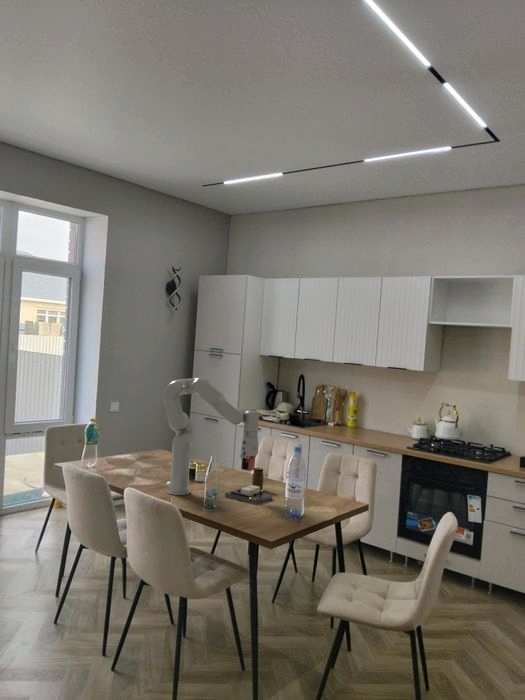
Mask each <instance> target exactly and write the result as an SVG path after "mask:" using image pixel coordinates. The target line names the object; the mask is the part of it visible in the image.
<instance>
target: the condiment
mask: <svg viewBox="0 0 525 700" xmlns="http://www.w3.org/2000/svg"><path fill="white" fill-rule="evenodd" d="M251 485H254V486H258V487H260V490H262V489H263V486H264V468H262V467H255V468H254V470H253V473H252V480H251Z"/></svg>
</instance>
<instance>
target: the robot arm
mask: <svg viewBox="0 0 525 700" xmlns="http://www.w3.org/2000/svg"><path fill="white" fill-rule="evenodd" d="M192 394H193V395H194V394H196V395H197V396H198V397H200V398H201V399H202V400H203V401H205V402H206V403H207V404H208V405H210V406H211V407H212V408H213V409H214V410H215V411H216V412H217V413H218V414H219V415H220V416H221V417H223V419H225V420H226V421H227V422H228V423H230V424H232V425H235V426H237V425H240V424H242V423H243V434H242V441H241V446H240V447H241V449H240V455H239V457H240V459H241V466H242V469H245V470H244V471H247V469H248V462H247V461H248V457H251V458H255V459H256V457H257V456H258V455H259V437H258V436H259V435H258V434H259V433H258V432H259V423H260V422H259V420H260V413H259V411H257V410H246V409H241V408H235V407H234V405H232V404H231V403H229V402H228V401H227V399H226V398H225V396H224V395H223V393H222V392H221V391H219V390H218V389H217V388H216V387H215V386H213V385H212V384H210V381H209V380H208V379H207V378H205V377H194V378H193V377H192V378H180V379H175V380H173V381H171V382H170V383H168V385H166V387H165V388H164V391H163V396H162V400H163V405H164V408H165V413H166V417H167V421H168V425H169V428H170V429H171V430H172V431H173V432H175V436H174V437H173V440H172V442H171V453H172V454H171V467H170V468H171V469H170V480H169V481H167V482H166V483H165V484H164V485H165V486H166V487H168V488H167V489H166V492H167V494H169V495H172V494H173V495H174V496H187V495H189V493H190V492H192V491H191V489H189V479H190V478H189V477H190V462H191V461H190V460H191V447H192V446H193V445H194V443H195V436H194V431H193V427H192V424H191V420H190V418H189V416H188V414H187V413H185V412H184V411H183V407H182V403H181V401H180V396H182V395H192ZM245 457H246V458H245ZM242 461H243V462H242ZM242 469H241V470H242ZM186 494H187V495H186ZM190 494H191V493H190Z"/></svg>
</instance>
